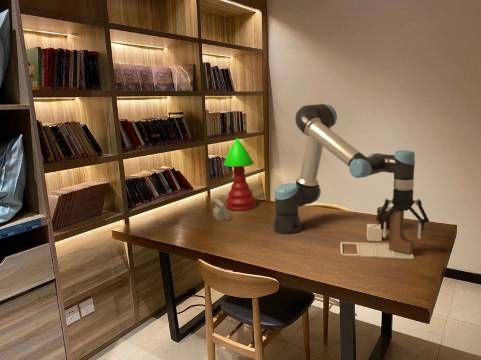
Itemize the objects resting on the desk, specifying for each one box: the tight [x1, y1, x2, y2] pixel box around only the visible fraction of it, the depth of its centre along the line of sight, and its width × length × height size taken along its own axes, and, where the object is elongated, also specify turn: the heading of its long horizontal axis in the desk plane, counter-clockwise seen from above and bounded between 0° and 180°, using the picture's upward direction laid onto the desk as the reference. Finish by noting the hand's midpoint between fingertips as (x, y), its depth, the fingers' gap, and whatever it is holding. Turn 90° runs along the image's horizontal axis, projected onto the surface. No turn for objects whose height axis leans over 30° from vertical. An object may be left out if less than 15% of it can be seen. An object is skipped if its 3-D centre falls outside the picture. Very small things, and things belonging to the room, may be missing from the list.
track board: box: [340, 241, 415, 260], centre depth 158 cm, size 29×14×1 cm, turn 76°
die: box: [366, 223, 383, 242], centre depth 171 cm, size 6×6×6 cm
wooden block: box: [388, 210, 415, 254], centre depth 153 cm, size 9×4×18 cm, turn 49°
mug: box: [376, 206, 392, 230], centre depth 183 cm, size 10×8×10 cm
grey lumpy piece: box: [212, 198, 231, 221], centre depth 215 cm, size 16×9×11 cm, turn 10°
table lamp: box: [222, 137, 257, 212], centre depth 232 cm, size 20×20×45 cm
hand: (401, 237), depth 154 cm, fingers open, 13 cm apart
